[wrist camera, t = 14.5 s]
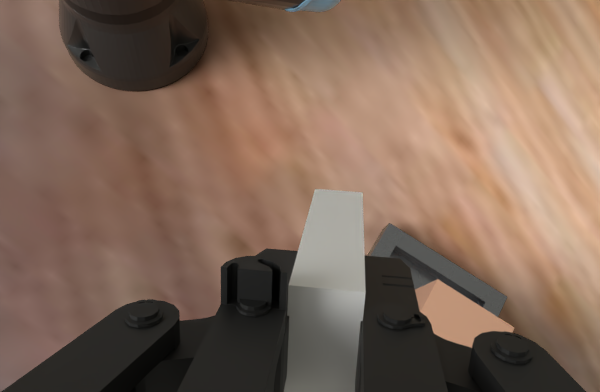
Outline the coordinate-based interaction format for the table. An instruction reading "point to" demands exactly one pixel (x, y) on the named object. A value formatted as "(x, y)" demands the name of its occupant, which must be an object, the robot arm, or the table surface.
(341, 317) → the robot arm
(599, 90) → the table surface
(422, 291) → the terracotta block
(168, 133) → the table surface
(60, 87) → the table surface
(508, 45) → the table surface
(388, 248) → the grey tray
